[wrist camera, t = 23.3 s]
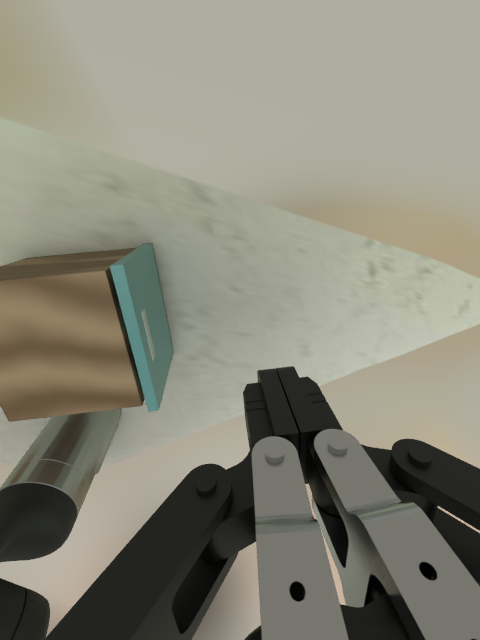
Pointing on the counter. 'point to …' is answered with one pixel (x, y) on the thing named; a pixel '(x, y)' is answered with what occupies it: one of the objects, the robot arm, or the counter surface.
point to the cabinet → (64, 338)
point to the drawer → (144, 320)
